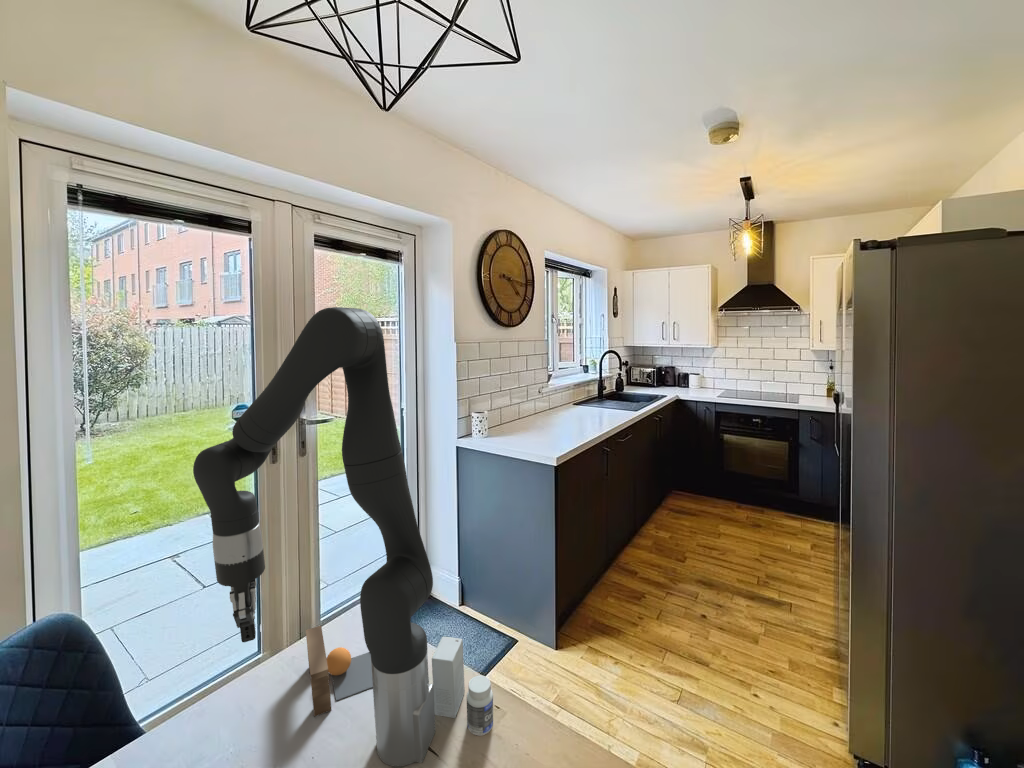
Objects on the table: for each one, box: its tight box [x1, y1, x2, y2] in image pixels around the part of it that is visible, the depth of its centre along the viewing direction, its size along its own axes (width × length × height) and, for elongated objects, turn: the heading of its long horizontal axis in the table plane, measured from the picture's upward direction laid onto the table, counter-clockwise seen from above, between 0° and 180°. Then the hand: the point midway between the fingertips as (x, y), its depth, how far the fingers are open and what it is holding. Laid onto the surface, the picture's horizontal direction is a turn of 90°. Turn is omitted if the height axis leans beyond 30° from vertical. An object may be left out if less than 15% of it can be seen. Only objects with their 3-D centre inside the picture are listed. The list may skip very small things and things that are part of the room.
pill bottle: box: [466, 675, 494, 736], centre depth 82 cm, size 5×5×8 cm
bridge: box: [305, 625, 332, 718], centre depth 91 cm, size 3×14×9 cm, turn 27°
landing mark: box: [331, 651, 373, 702], centre depth 95 cm, size 10×10×1 cm
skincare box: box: [431, 636, 466, 719], centre depth 87 cm, size 6×4×12 cm
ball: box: [326, 646, 352, 676], centre depth 95 cm, size 5×5×5 cm
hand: (248, 638), depth 84 cm, fingers closed
